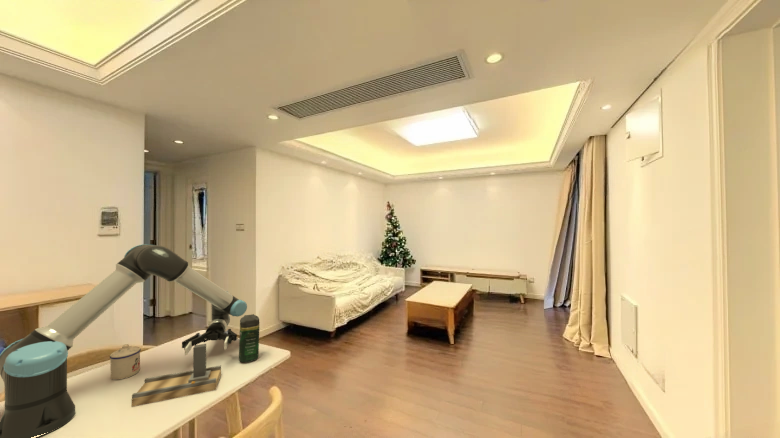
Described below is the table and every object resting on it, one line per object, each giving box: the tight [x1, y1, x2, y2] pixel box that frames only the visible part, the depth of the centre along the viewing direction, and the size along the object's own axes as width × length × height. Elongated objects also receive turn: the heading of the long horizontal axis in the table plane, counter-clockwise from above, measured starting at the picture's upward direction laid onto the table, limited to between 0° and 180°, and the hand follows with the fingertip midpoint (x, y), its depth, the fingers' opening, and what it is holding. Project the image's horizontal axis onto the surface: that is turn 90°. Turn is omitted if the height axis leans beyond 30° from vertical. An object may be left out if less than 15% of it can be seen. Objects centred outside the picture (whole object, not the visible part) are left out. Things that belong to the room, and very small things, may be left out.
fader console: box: [131, 365, 222, 407], centre depth 102 cm, size 24×11×4 cm, turn 112°
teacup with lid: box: [109, 343, 142, 381], centre depth 114 cm, size 12×9×12 cm
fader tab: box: [188, 343, 211, 383], centre depth 105 cm, size 6×5×12 cm
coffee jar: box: [238, 313, 260, 363], centre depth 125 cm, size 10×8×19 cm
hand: (205, 348), depth 114 cm, fingers open, 13 cm apart
